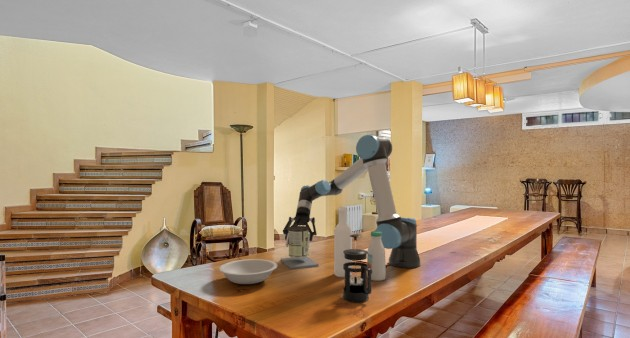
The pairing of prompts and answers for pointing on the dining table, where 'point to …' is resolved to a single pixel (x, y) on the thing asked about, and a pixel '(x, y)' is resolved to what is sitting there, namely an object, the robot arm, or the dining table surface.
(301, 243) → the coffee can
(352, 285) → the french press
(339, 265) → the bottle
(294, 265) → the grey mat
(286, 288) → the dining table surface
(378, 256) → the milk bottle
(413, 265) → the robot arm
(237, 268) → the soup bowl
